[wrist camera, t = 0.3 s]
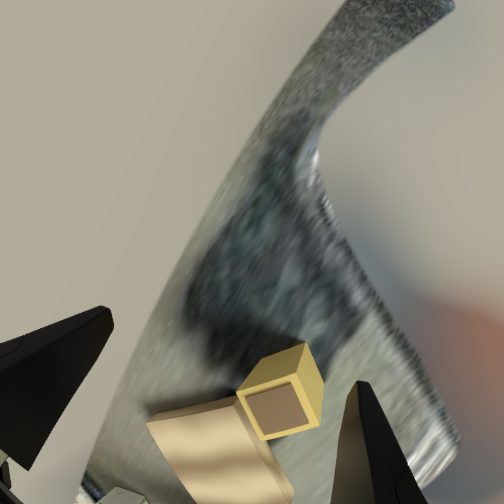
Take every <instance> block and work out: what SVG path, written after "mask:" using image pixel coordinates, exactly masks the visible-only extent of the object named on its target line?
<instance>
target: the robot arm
mask: <svg viewBox="0 0 504 504" xmlns="http://www.w3.org/2000/svg"><path fill="white" fill-rule="evenodd" d="M113 329H114V322H113V318H112V313H111V310H110V309H109V308H107V307H105V306H97V307H95V308H92V309H90V310H87V311H84V312H82V313H79V314H77V315H74V316H72V317H69V318H66V319H64V320H61V321H59V322H56V323H53V324H51V325H48V326H46V327H43V328H40V329H38V330H35V331H33V332H30V333H28V334H25V335H22V336H20V337H17V338H14V339H12V340H9V341H6V342H3V343H0V504H23V503H22V502H21V501H20V500H19V499H18V498H17V497H16V496H15V495H14V494H13V493H12V492H11V491H10V488H11V480H10V474H9V466H8V462H7V461H6V460H7V458H8V457H10V458H11V459H13V460H14V461H15V462H16V463H18V464H19V465H20V466H22V467H23V468H24V469H26V470H27V471H29V470H30V468H31V467H32V465H33V463H34V461H35V459H36V457H37V456H38V454H39V452H40V450H41V448H42V447H43V445H44V443H45V441H46V440H47V438H48V437H49V435H50V433H51V431H52V429H53V428H54V426H55V425H56V423H57V421H58V419H59V418H60V416H61V415H62V413H63V411H64V410H65V408H66V407H67V405H68V403H69V402H70V400H71V399H72V397H73V395H74V394H75V392H76V391H77V389H78V388H79V386H80V384H81V383H82V382H83V380H84V378H85V377H86V376H87V374H88V372H89V371H90V370H91V368H92V366H93V365H94V363H95V362H96V360H97V359H98V357H99V355H100V353H101V351H102V350H103V348H104V346H105V344H106V342H107V340H108V338H109V336H110V334H111V333H112V331H113ZM330 504H428V502H427V501H426V499H425V497H424V496H423V494H422V492H421V490H420V488H419V486H418V484H417V482H416V480H415V478H414V476H413V474H412V472H411V469H410V467H409V466H408V463H407V461H406V459H405V456H404V454H403V452H402V450H401V448H400V445H399V443H398V441H397V439H396V437H395V435H394V433H393V430H392V428H391V426H390V424H389V422H388V420H387V418H386V416H385V414H384V412H383V410H382V408H381V406H380V404H379V401H378V399H377V397H376V395H375V393H374V391H373V389H372V387H371V385H370V384H369V383H368V382H365V381H356V382H355V384H354V386H353V387H352V389H351V391H350V392H349V394H348V396H347V400H346V405H345V410H344V415H343V420H342V425H341V430H340V435H339V440H338V449H337V458H336V467H335V475H334V483H333V490H332V496H331V503H330Z"/></svg>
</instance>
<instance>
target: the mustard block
mask: <svg viewBox="0 0 504 504" xmlns="http://www.w3.org/2000/svg"><path fill="white" fill-rule="evenodd" d="M323 386H324V383H323V380H322V378H321V376H320V373H319V371H318V369H317V366H316V364H315V362H314V359H313V357H312V355H311V352H310V350H309V348H308V345H307V343H306V342H304V343H302V344H299V345H297V346H294V347H292V348H289V349H286V350H284V351H281V352H278V353H276V354H273V355H270V356H267V357H264V358H262V359H261V360H260V361H259V362H258V364H257V365H256V366H255V368H254V369H253V370H252V372H251V373H250V374H249V375H248V377H247V378H246V379H245V381H244V382H243V383H242V384H241V386H240V387H239V388H238V389H237V391H236V394H237V396H238V398H239V400H240V402H241V404H242V406H243V408H244V410H245V412H246V414H247V415H248V417H249V419H250V421H251V423H252V425H253V427H254V429H255V431H256V433H257V435H258V436H259V438H260V440H261V441H264V440H269V439H273V438H277V437H281V436H285V435H289V434H293V433H296V432H300V431H304V430H307V429H310V428H314V427H317V426H320V419H321V409H322V398H323Z"/></svg>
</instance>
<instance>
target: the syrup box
mask: <svg viewBox="0 0 504 504" xmlns="http://www.w3.org/2000/svg"><path fill="white" fill-rule="evenodd" d="M96 504H149V503H148V501H147V499H146V497H145V496H142V495H140V494H137V493H134V492H131V491H128V490H126V489H123V488H120V487H115V488H114V489H113V490H111V491H110V492H109V493H108V494H107V495H106V496H105V497H103V498H102V499H101V500H100V501H99V502H97V503H96Z"/></svg>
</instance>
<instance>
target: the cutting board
mask: <svg viewBox="0 0 504 504" xmlns="http://www.w3.org/2000/svg"><path fill="white" fill-rule="evenodd" d="M145 424H146V426H147V427H148V429H149V431H150V433H151V435H152V436H153V438H154V440H155V441H156V443H157V445H158V446H159V448H160V450H161V451H162V453H163V455H164V456H165V458H166V459H167V461H168V463H169V464H170V466H171V467H172V469H173V470H174V472H175V473H176V475H177V476H178V478H179V479H180V481H181V482H182V483H183V485H184V486H185V488H186V489H187V490H188V492H189V493H190V495H191V496H192V497H193V499H194V500H195V501H196V503H197V504H291V503H292V499H293V495H294V490H293V488H292V486H291V484H290V483H289V481H288V479H287V478H286V476H285V474H284V472H283V471H282V469H281V467H280V465H279V463H278V462H277V460H276V458H275V456H274V454H273V453H272V451H271V449H270V447H269V445H268V443H267V442H266V440H264V441H261V440H260V438H259V436H258V435H257V433H256V431H255V429H254V427H253V425H252V423H251V421H250V419H249V417H248V415H247V414H246V412H245V410H244V408H243V406H242V404H241V402H240V400H239V398H238V396H237V395H235V396H231V397H227V398H223V399H220V400H216V401H212V402H207V403H203V404H199V405H195V406H190V407H185V408H181V409H176V410H171V411H165V412H160V413H157V414H156V415H154V416H153V417H152V418H151V419H149V420H148V421H147V422H145Z"/></svg>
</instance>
